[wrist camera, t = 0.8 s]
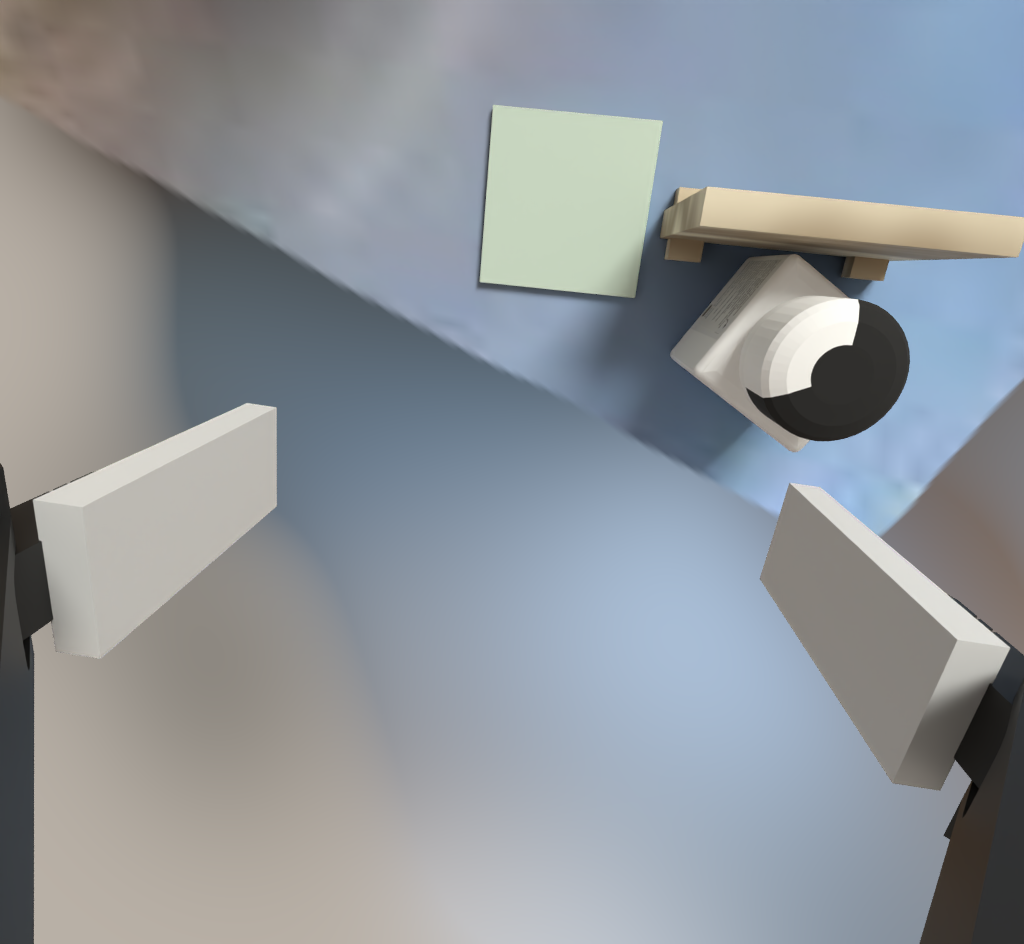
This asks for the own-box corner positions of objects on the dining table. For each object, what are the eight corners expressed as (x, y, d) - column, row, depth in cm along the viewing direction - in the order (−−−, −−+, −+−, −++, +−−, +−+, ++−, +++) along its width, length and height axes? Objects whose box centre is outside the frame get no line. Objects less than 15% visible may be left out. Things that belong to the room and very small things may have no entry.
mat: (493, 106, 36) (493, 105, 35) (661, 122, 35) (662, 120, 35) (480, 281, 39) (479, 282, 38) (634, 297, 38) (634, 298, 38)
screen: (667, 189, 36) (712, 156, 26) (901, 211, 36) (1042, 187, 25) (656, 258, 38) (694, 253, 27) (881, 281, 37) (1007, 285, 27)
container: (839, 329, 38) (973, 358, 26) (753, 423, 41) (839, 489, 28) (749, 254, 37) (844, 246, 25) (666, 354, 39) (716, 392, 27)
